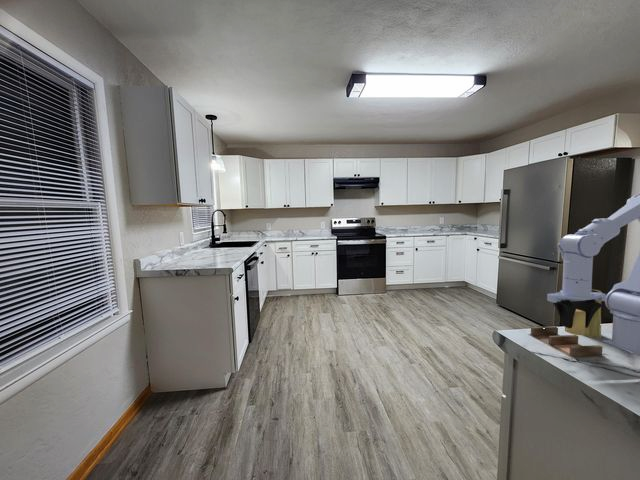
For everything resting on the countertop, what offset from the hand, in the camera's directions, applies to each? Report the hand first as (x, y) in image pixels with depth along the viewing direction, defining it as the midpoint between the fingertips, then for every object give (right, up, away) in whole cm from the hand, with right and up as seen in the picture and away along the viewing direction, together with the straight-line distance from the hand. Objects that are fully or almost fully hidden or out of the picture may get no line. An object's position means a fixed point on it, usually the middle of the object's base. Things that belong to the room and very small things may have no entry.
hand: (574, 326), depth 73 cm
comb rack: (0, -7, +4) cm, 8 cm away
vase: (+14, -6, +10) cm, 19 cm away
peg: (0, -2, 0) cm, 2 cm away
